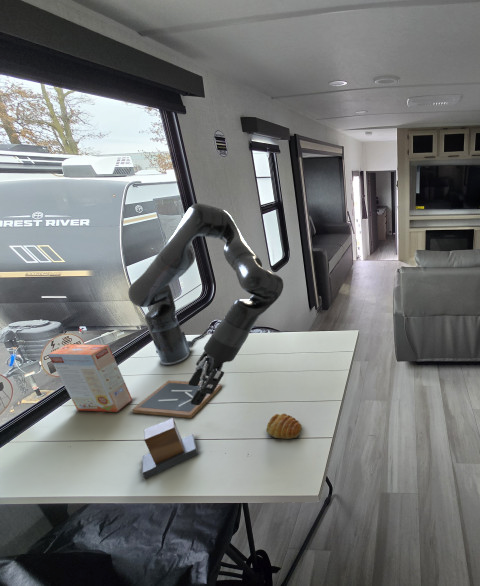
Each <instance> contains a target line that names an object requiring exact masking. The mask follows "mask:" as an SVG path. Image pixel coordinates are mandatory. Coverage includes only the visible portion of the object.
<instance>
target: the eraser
mask: <svg viewBox="0 0 480 586" xmlns="http://www.w3.org/2000/svg"><path fill="white" fill-rule="evenodd" d="M143 439H144V443H145V445H146V448H147V449H148V452H147V453H146V454H144V455H142V475H143V478H144V479H145V480H146V479H148V478H150V477H152V476H154V475H156V474H159V473H161V472H164V471H165V470H167V469H169V468H172V467H175V465H178V464H180V463H182V462H184V461H187V460H189V459H191V458H193V457H195V456H198V448H197V444H196V438H195V436H194V434H193V433H192V434H190V435H188V436H185V437H183V438H182V437H181V434H180V432H179V429H178V426H177V424H176V421H175V418H174V417H171V418H170V419H167V420H165V421H162V422H159V423H157V424H153V425H151V426H149V427H147V428H144V429H143Z"/></svg>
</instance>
